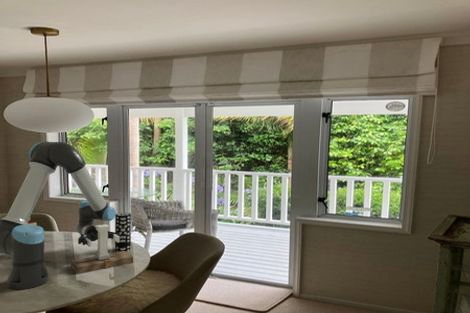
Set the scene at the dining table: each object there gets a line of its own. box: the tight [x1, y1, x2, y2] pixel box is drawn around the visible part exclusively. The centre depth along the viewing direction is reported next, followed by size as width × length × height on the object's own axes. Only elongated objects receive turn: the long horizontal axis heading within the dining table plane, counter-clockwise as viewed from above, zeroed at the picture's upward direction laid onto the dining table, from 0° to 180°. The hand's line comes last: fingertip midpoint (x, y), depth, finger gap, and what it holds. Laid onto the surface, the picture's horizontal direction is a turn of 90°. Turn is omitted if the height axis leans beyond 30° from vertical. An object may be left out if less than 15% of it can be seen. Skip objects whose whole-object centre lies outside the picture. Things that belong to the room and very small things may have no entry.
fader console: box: [70, 251, 134, 275], centre depth 169 cm, size 26×12×3 cm, turn 129°
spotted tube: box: [114, 212, 132, 253], centre depth 194 cm, size 8×8×20 cm
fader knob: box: [94, 223, 111, 260], centre depth 169 cm, size 5×6×16 cm
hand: (105, 241), depth 166 cm, fingers open, 13 cm apart
